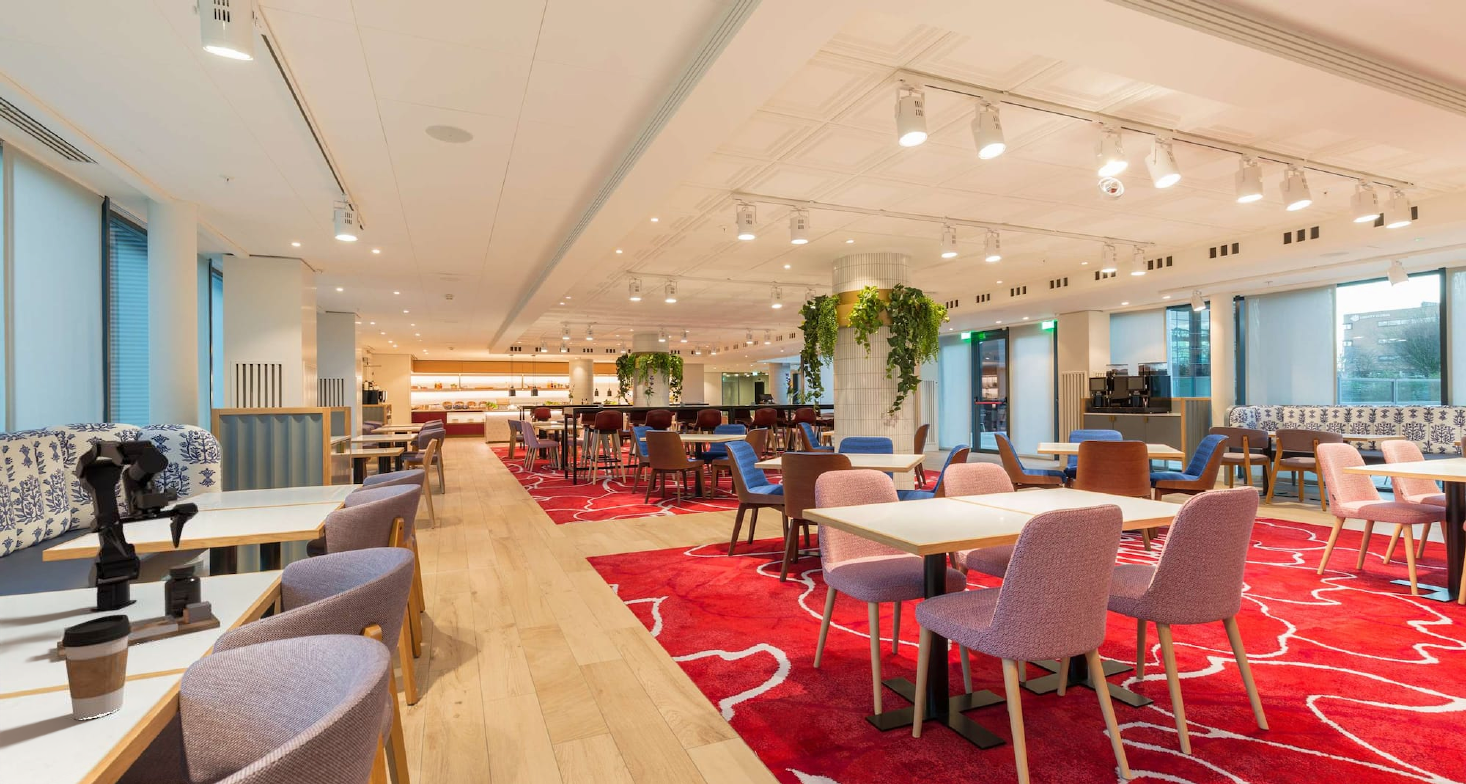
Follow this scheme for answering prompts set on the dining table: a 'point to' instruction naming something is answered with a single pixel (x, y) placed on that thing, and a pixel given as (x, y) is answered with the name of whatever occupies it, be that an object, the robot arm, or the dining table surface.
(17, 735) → the dining table surface
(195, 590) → the supplement bottle
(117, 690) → the coffee cup
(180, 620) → the walnut rail
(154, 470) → the robot arm
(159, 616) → the dining table surface
